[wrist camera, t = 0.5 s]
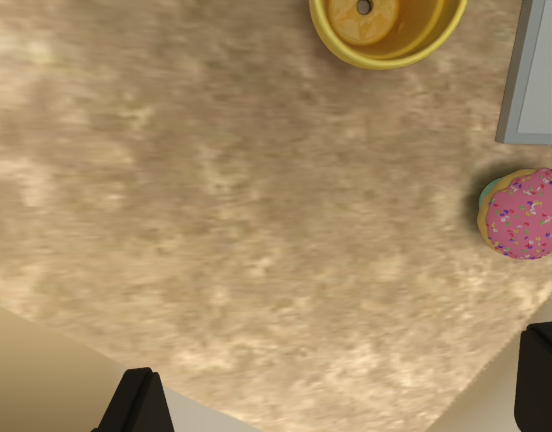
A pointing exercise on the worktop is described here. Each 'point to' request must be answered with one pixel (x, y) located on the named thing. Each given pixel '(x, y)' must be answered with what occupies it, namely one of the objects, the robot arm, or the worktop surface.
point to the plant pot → (385, 29)
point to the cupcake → (518, 214)
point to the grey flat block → (529, 79)
